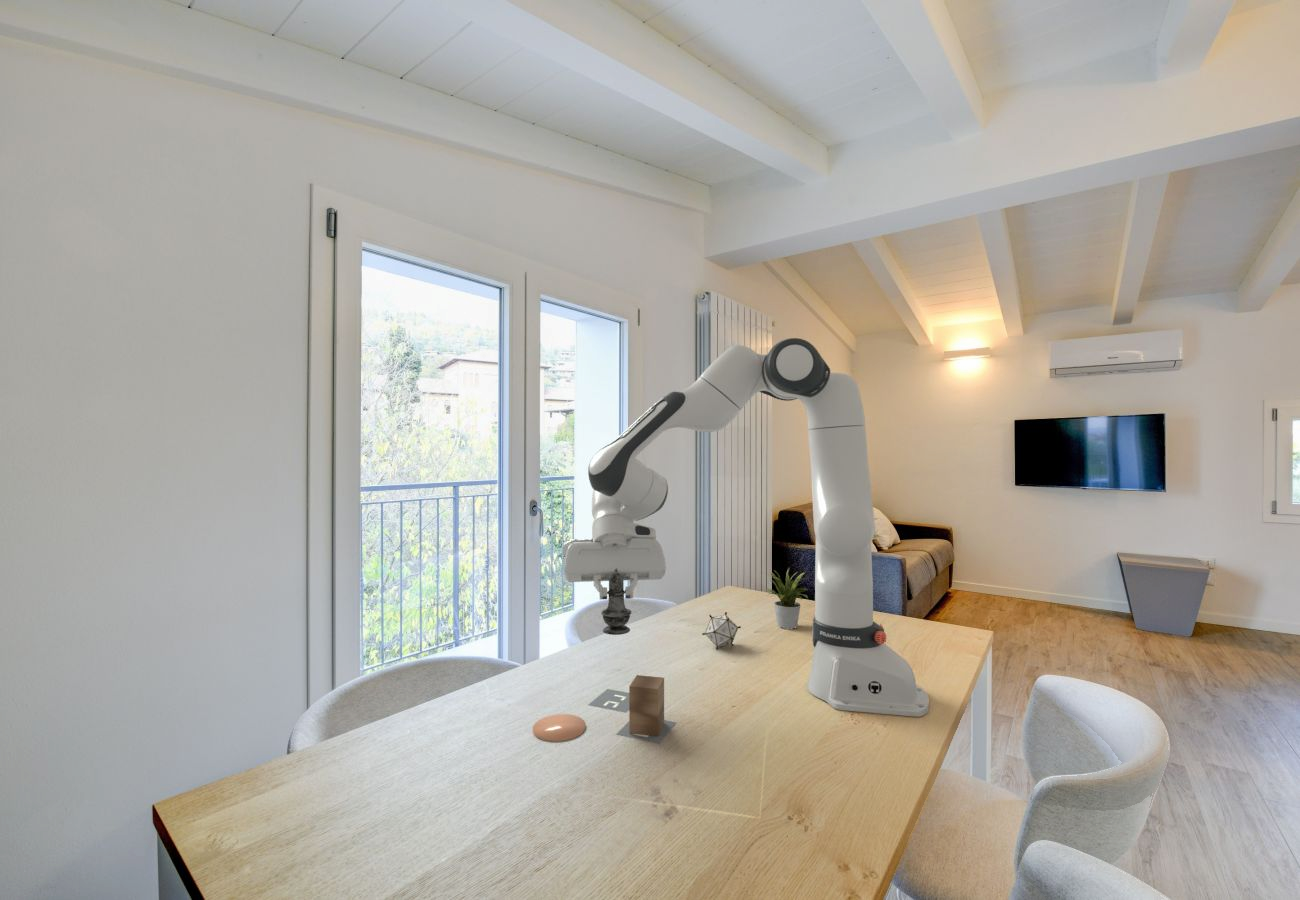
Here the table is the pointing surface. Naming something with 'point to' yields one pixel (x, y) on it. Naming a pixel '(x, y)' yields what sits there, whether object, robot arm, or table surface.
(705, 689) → the table surface
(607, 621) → the salt shaker
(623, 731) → the tile block
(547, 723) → the coaster
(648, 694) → the walnut block
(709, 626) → the white icosahedron model
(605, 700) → the grey marker tile
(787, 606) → the house plant
